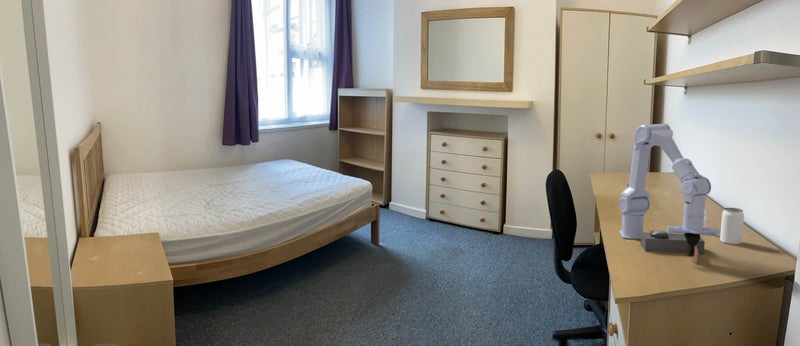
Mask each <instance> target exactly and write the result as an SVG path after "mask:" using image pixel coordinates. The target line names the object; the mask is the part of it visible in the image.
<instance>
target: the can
mask: <svg viewBox="0 0 800 346" xmlns="http://www.w3.org/2000/svg"><path fill="white" fill-rule="evenodd" d="M744 219H745V213H744V209H741V208H737V207H724V208H723V211H722V213H721V221H720V222H721V225H720V233H719V237H720V238H719V239H720V242H721V243H724V244H727V245H732V246H733V245H734V246H736V245H737V246H738V245H740V244H741V243H743V242H742V240H743V230H744V222H745V221H744Z"/></svg>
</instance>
